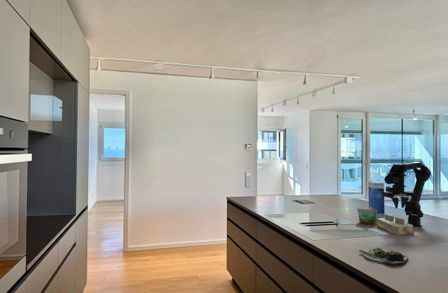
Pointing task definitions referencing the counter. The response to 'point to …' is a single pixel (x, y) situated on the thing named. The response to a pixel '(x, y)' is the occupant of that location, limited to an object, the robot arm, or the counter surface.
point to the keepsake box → (395, 228)
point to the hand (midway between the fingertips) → (399, 208)
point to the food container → (367, 216)
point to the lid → (399, 223)
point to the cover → (387, 218)
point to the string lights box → (376, 197)
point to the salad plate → (385, 256)
